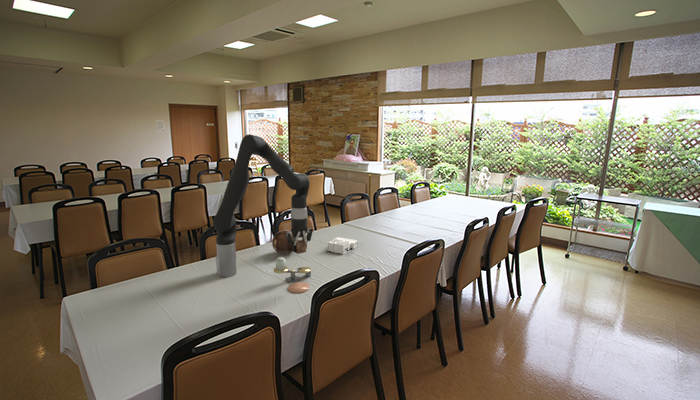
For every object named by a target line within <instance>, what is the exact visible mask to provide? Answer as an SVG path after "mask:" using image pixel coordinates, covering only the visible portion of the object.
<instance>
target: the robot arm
mask: <svg viewBox="0 0 700 400" xmlns="http://www.w3.org/2000/svg"><path fill="white" fill-rule="evenodd" d="M253 155H254V156H259V157H260V158H263V160H265V161H266V162H267V163H268V165H269V167H270V168H271V170H273V172H275V174H277V175H278V176H279V177H281V179H282V181H283V182H284V183H285V184H286V186H287V187H288V188H289V189H290V190H293V191H295V193H294V194H293V195H292V196H291V199H290V201H291V202H290V203H291V204H290V205H291V209H290V218H291V219H290V222H291V223H290V226H291V227H290V228H291V229H290V230H289V231H290V232H286V233H285V234H286V237H287V240H288V243H289V244H291V245H292V251H293V252H292V253H295V254H297V253H296V252H297V245H296V244H297V241H298V240H299V239H300V238H301V240H303V241H305V242H306V250H307V249H308V242H310V241H311V239H312V236H313V231H314V229H312V228H311V227H308V209H307V207H308V206H307V203H308V201H307V197H308V194H309V190H310V181H311V180H310V178H309V176H308V175H307V174H306V173H296V174H295V173H294V172H295V170H294V167H293V166H292V165H291V164H290V163H288V162H287V161H286V160H285V159H284V158H282V157H281V156H280V155H279V154H277V152H276V151H274V149H273V148H272V147H271V146H270V145H269V143H267V141H266V140H265V139H264V138H263V137H261V136H259V135H255V134H254V135H253V134H249V133H248V134H246V135H244V136H243V138H242V140H241V141H240V144H239V148H238V152H237V155H236V159H235V163H234V165H233V168H232V171H231V174H230V177H229V179H228V182H227V184H226V188H225V191H224V194H223V196H222V201H221V203H220V205H219V208H218V209H217V212H216V213H215V215H214V217H213V219H212V226H213V229H214V230H215V231H216V232H217V235H216V238H215V240H216V241H215V243H216V256H215V262H216V263H215V264H216V274H217V275H218V276H219V278H228V277H233V276H235V275H236V274H237V273H238V272H237V271H238V270H237V268H238V267H237V255H236V254H237V253H236V252H237V251H236V235H237V222H236V217H235V215H234V214H235V211H236V210H237V209H236V208H237V206H239V203H240V202H241V200H242V199H243V197H244V195H245V193H246V192H247V188H248V186H249V183H250V172H249V171H250V170H249V164H250V160H251V158H252V156H253ZM291 234H293V237H292V239H291ZM295 237H296V238H295Z"/></svg>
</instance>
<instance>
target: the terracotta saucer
mask: <svg viewBox="0 0 700 400" xmlns="http://www.w3.org/2000/svg"><path fill="white" fill-rule="evenodd" d="M309 289H310V285H309V284H308V283H306V282H301V281H296V282H292V283H289V285H288V286H287V290H288V291H289V292H290V293H293V294H303V293H306V292H307V291H309Z"/></svg>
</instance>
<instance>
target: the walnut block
mask: <svg viewBox="0 0 700 400" xmlns="http://www.w3.org/2000/svg"><path fill="white" fill-rule="evenodd" d="M296 245H297V252H296V253H295V254H297V255H300V254H303V253H307V249H306V242H305V241H303V240H302V239H298V241H297V244H296Z"/></svg>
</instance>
